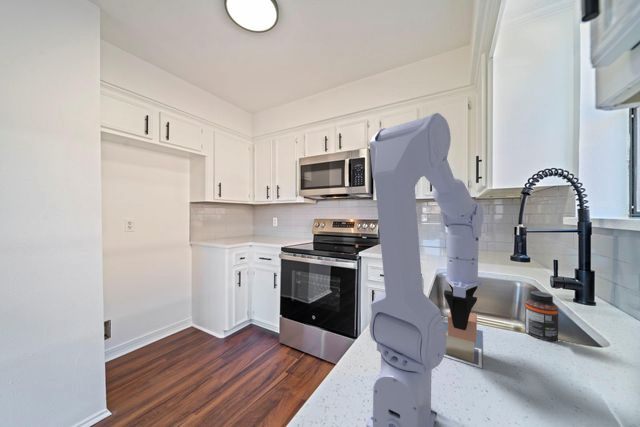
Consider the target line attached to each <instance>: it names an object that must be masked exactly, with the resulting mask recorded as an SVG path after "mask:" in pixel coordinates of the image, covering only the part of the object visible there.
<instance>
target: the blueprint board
mask: <svg viewBox="0 0 640 427" xmlns="http://www.w3.org/2000/svg"><path fill="white" fill-rule="evenodd" d="M442 323H443V326H444V328H445V331H446V334H447V330H448V321H447V322H446V321H442ZM483 335H484V334H483V330H481V329H480V330H479V329H477V334H476V343H475V351H474V362H471V361H468V360H464V359H461V358H458V357H455V356H451V355H448V354H446V350H445V354H444V357H443V359H444V358H446V359H448V360H451V361H454V362H458V363H460V364H464V365H467V366H471V367H474V368H477V369H480V370H484V349H483V348H484V346H483V345H484V344H483V343H484V341H483V337H484V336H483Z"/></svg>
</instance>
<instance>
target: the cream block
mask: <svg viewBox="0 0 640 427" xmlns="http://www.w3.org/2000/svg"><path fill="white" fill-rule="evenodd" d="M446 335H447V344H446V354H448V355H451V356H455V357H458V358H461V359H464V360H468V361H471V362H474V351H475V343H474V342H471V341H467V340H463V339H460V338H456V337H452V336H448V330H447V334H446Z"/></svg>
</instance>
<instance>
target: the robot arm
mask: <svg viewBox="0 0 640 427" xmlns="http://www.w3.org/2000/svg"><path fill="white" fill-rule="evenodd" d="M451 137H452V136H451V130H450V125H449V122H448V121H447V119H446V118H445V117H444V116H443V115H442V114H441V113H438V112H435V113H432V114H430V115H428V116H424V117H421V118H417V119H414V120H411V121H410V120H409V121H407V122H404V123H400V124H398V125H397V124H396V125H393V126H391V127H387V128H385V127H384V128H380V129H378V130H377V131H376V133H375V134H374V136H373V137H372V138H371V139H370V141H369V150H370V161H371V162H370V163H371V173H372V179H373V180H374V186H375V197H376V199H375V200H376V208H377V219H378V227H379V230H378V231H379V238H380V239H379V240H380V241H379V242H380V250H381V251H380V252H381V260H382V262H381V263H382V271H383V272H382V273H383V282H384V292H382V293H380V294H378V295H377V296H376V297H375V299H373V300H372V302H371V303H370V307H371V315H370V319H369V326H368V327H369V335H370V337H371V339H372V341H374V342H375V343H376V351H377V352H378V353H380V370H379V374H378V375H377V378H376V380H375V382H374V384H373V389H372V390H373V393H372V394H373V395H372V402H373V403H372V412H371V413H370V415H369V417H368V418H367V421H366V423H365V424H366V427H434V426H435V421H436V417H437V412H436V411H434V410H432V372H433V371H432V370H434V369H435V368H436V367H438V366H439V365H441V363H442V361H443V360H444V354H445V350H446V344H447V335H446V331H445V328H444V326H443V323H442V322H443V318H442V312H441V309H440V308H439V307H438V306H437V305H436V304H435V303H434V302H433V301H432V300H431V299H430V298H429V297H428V296H427V295H426V294H425V293H423V290H422V277H423V275H422V276H421V274H422V263H421V251H420V239H419V237H420V236H419V226H418V224H419V223H418V213H417V212H418V211H417V209H418V208H417V199H416V198H417V197H416V185H417V184H418V182H419V181H420V179H421V178H423V177H424V178H425V179H426V180H427V182H429V184H430V185H431V187H433V192H432V196H433V197H432V198H433V199H434V201H435V202H436V204H437V205H438V206H439V208H440V209H441V211H440V213H441V216H442V222H443V225H444V227H446V228H447V233H446V234H447V235H446V236H447V241H446V242H447V243H446V244H447V245H446V246H447V248H446V275H445V281H446V283H448V284H449V287H450V289H451V290H447V289H445V290H444V291H443V296H444V298H445V301H446V302H447V305H448V307H449V308H448V309H449V312H451V318H452V323H453V326H454V328H457V329H461V330H466V328H467V325H468V320H469V315H470V313H472V309H473V307H474V306H475V305H476V303H477V301H478V297H477V296H474V294H475V292H476V291H477V289H478V286H483V287H484V286H485V282H486V281H485V280H482V279H479V245H480V244H479V242H480V241H479V238H481V237H482V227H483V223H484V218H485V216H484V213H485V212H484V207H483V205H482V204H481V203H478V202H477V201H474V200H473V198H472V196H471V193H470V192H469V190H468V187H467V186H466V184H465V183H464V182H463V180H461V179H460V178H456V177H455V176H454V174H453V170H452V169H451V166H450V164H449V161H448V160H449V159H448V158H449V157H448V155H449V151H450V148H451V142H452V141H451V139H452V138H451Z"/></svg>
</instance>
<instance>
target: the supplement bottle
mask: <svg viewBox="0 0 640 427" xmlns="http://www.w3.org/2000/svg"><path fill="white" fill-rule="evenodd" d="M524 328H525V333H526V334H527V335H529V336H530V337H532V338H534V339H537V340H540V341H545V342H549V343H550V342H551V343H555V342H558V341H559V307H558V305H557V304H555V303H554V296H553V295H552V294H551V293H548V292H545V291H537V290H533V291H531V292H530V298H529V299H527V300H525V324H524Z"/></svg>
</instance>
